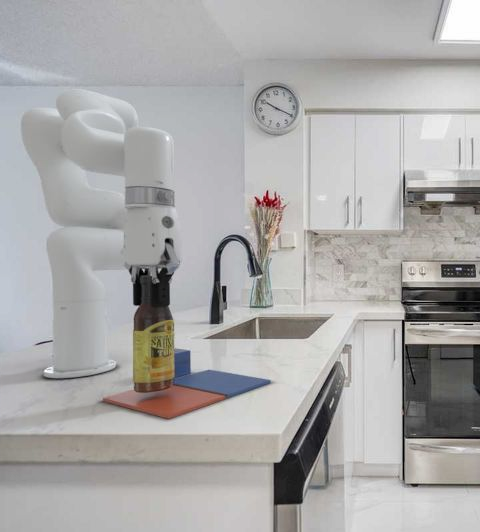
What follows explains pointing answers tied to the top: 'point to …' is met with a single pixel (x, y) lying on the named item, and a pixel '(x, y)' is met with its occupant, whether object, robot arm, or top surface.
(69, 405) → the top surface
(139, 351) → the sauce bottle
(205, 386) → the sorting board
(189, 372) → the blue block
